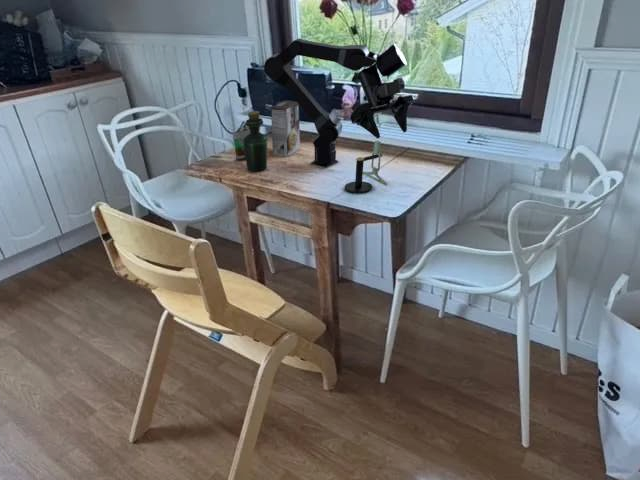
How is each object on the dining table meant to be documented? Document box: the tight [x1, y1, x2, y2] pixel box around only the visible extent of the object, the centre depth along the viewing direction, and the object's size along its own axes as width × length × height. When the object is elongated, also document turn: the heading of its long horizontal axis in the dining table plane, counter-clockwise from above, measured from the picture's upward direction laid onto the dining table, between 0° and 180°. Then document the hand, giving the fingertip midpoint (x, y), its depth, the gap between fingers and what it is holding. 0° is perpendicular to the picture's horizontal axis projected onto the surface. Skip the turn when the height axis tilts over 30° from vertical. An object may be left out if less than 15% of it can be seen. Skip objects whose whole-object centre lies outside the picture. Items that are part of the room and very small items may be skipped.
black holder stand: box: [344, 152, 384, 195], centre depth 151 cm, size 8×12×9 cm
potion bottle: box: [243, 110, 269, 173], centre depth 169 cm, size 8×8×18 cm
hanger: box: [363, 140, 388, 187], centre depth 150 cm, size 1×12×11 cm, turn 22°
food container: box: [232, 122, 250, 162], centre depth 182 cm, size 12×6×10 cm, turn 160°
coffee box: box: [270, 100, 301, 158], centre depth 180 cm, size 9×6×16 cm
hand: (392, 134), depth 151 cm, fingers open, 9 cm apart
